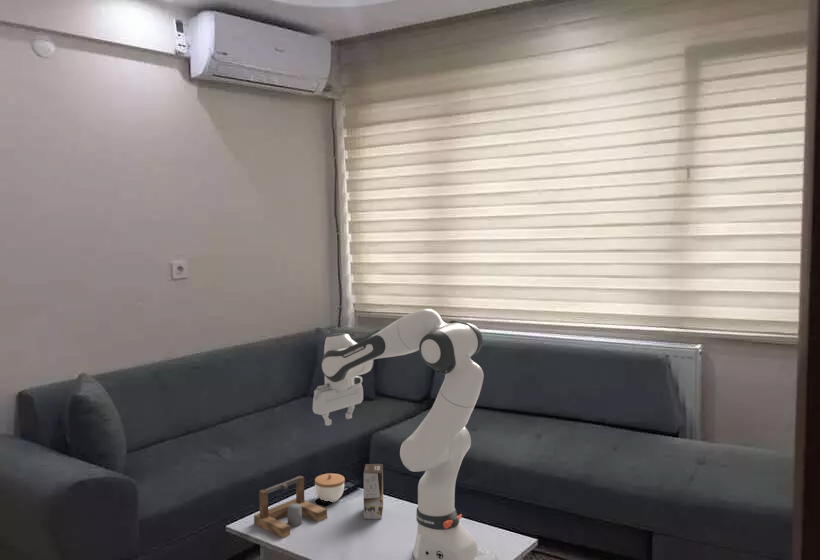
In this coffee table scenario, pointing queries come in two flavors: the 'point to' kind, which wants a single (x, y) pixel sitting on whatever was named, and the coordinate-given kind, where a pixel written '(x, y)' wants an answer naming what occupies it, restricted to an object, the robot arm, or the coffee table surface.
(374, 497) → the coffee box
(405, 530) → the coffee table surface
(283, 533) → the wooden crossbar stand
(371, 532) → the coffee table surface
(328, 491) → the lidded jar
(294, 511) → the grey cylinder
